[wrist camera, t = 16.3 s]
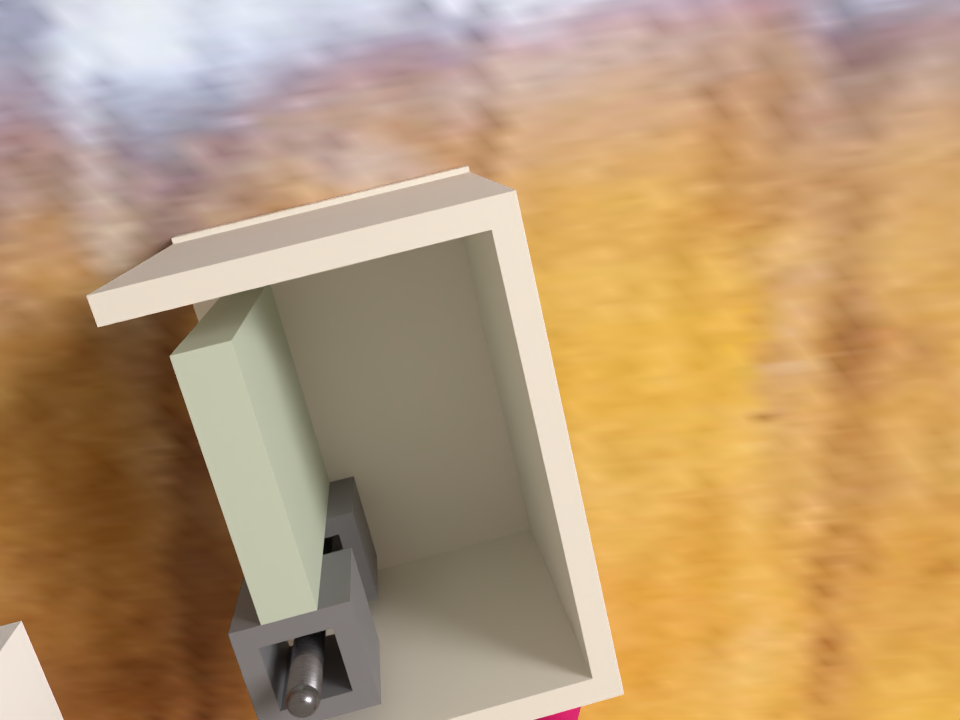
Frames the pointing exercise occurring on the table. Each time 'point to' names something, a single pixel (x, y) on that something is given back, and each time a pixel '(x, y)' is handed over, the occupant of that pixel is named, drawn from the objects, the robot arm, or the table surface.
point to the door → (280, 510)
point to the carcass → (427, 431)
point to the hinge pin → (307, 668)
